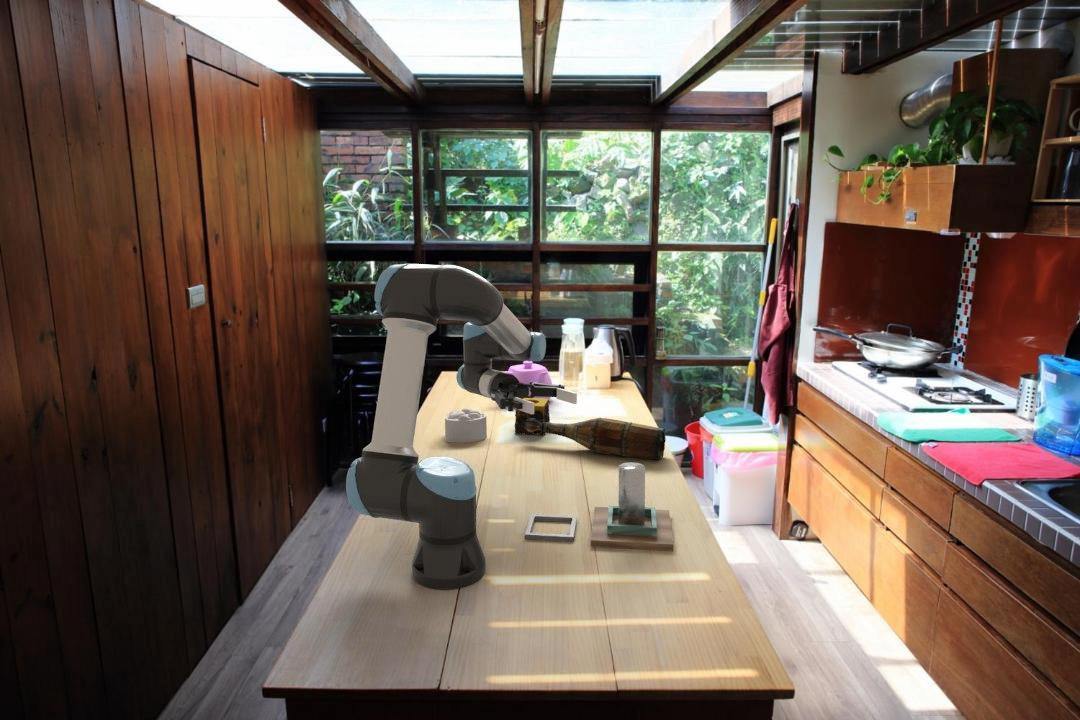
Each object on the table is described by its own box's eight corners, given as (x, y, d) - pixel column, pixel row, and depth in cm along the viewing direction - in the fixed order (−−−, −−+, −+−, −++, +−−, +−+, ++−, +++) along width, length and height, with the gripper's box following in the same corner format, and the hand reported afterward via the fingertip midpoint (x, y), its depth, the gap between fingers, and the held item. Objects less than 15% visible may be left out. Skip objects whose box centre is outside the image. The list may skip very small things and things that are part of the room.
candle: (544, 436, 238) (544, 406, 236) (514, 434, 240) (513, 404, 238) (550, 426, 248) (550, 398, 245) (521, 425, 249) (520, 396, 247)
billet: (644, 530, 167) (645, 472, 164) (618, 529, 168) (618, 471, 165) (644, 519, 173) (644, 462, 170) (618, 518, 173) (618, 462, 170)
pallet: (673, 550, 161) (673, 536, 160) (590, 546, 163) (590, 531, 162) (668, 516, 178) (669, 502, 177) (594, 512, 180) (594, 499, 180)
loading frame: (573, 541, 165) (573, 537, 165) (524, 538, 167) (524, 534, 166) (576, 520, 176) (576, 516, 176) (531, 517, 177) (531, 514, 177)
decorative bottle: (669, 442, 222) (532, 423, 238) (667, 418, 215) (526, 400, 231) (661, 470, 214) (520, 448, 231) (658, 445, 208) (513, 425, 224)
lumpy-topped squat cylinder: (448, 432, 242) (447, 407, 240) (487, 432, 242) (487, 406, 240) (444, 442, 232) (443, 416, 230) (485, 442, 232) (485, 416, 230)
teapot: (489, 399, 281) (488, 360, 278) (538, 392, 291) (538, 355, 288) (515, 414, 262) (515, 373, 258) (566, 406, 271) (567, 366, 268)
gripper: (536, 392, 199) (592, 409, 183) (460, 409, 183) (514, 428, 167) (536, 365, 198) (592, 379, 182) (460, 380, 182) (513, 397, 166)
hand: (555, 403), depth 175 cm, fingers open, 13 cm apart
